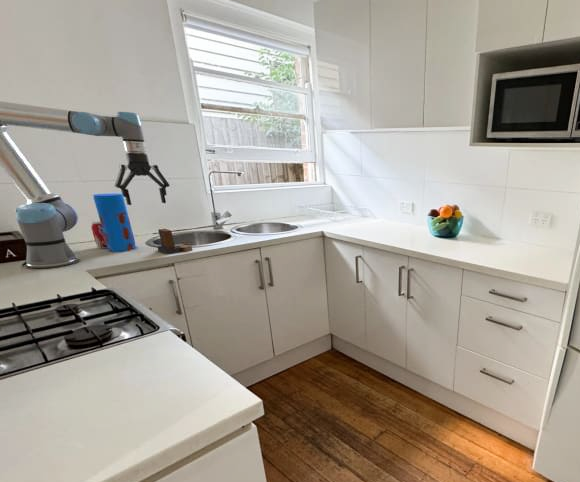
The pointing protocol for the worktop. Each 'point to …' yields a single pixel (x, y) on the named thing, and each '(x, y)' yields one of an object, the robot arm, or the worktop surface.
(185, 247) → the cork chip
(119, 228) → the thermos
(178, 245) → the cork chip
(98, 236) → the soda can
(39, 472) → the worktop surface
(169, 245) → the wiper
